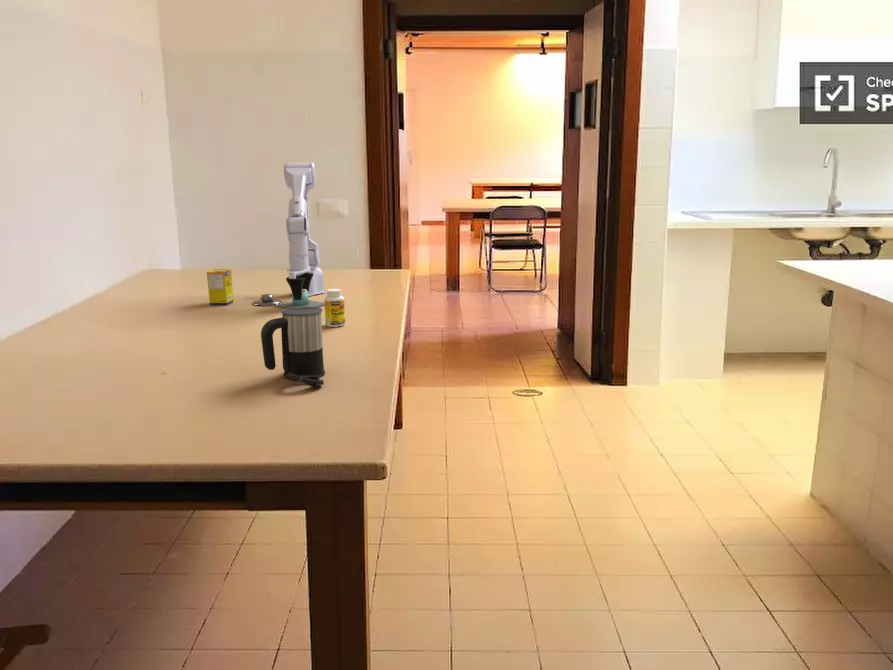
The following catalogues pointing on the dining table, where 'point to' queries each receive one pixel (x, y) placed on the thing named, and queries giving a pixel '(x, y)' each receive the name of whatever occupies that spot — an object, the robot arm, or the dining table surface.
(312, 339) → the milk frother
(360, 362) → the dining table surface
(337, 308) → the supplement bottle
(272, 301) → the metal flanged disc
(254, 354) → the dining table surface
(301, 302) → the cap
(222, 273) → the supplement box
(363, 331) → the dining table surface
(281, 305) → the mat
